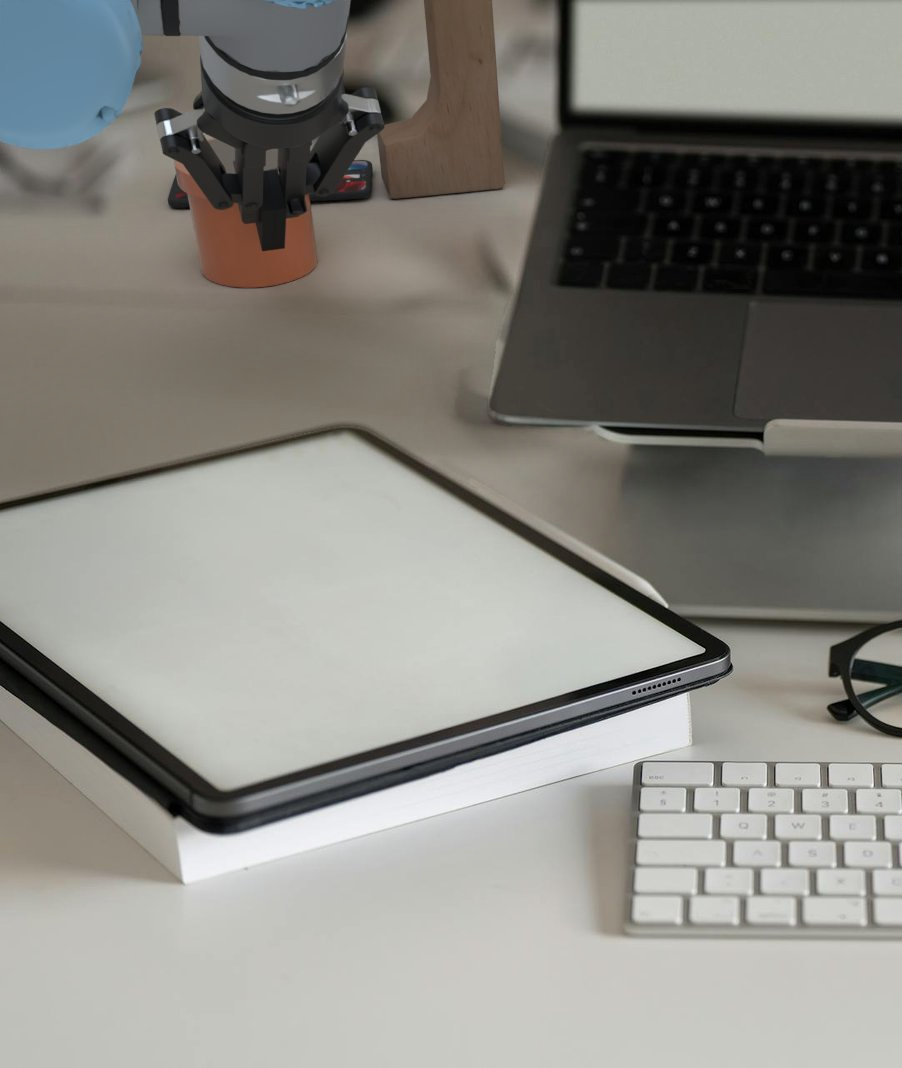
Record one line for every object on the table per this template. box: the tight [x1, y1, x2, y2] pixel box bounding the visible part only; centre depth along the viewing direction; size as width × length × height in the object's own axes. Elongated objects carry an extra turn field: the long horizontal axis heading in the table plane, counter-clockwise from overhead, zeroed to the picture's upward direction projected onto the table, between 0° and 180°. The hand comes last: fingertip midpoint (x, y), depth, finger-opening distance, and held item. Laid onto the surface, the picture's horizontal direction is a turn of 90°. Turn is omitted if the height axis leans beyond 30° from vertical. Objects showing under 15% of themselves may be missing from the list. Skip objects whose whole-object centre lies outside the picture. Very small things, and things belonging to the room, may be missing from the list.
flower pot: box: [173, 137, 319, 289], centre depth 118 cm, size 9×9×8 cm
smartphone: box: [167, 159, 374, 209], centre depth 132 cm, size 7×1×15 cm
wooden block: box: [376, 0, 506, 200], centre depth 129 cm, size 9×4×18 cm, turn 109°
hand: (269, 231), depth 114 cm, fingers closed
